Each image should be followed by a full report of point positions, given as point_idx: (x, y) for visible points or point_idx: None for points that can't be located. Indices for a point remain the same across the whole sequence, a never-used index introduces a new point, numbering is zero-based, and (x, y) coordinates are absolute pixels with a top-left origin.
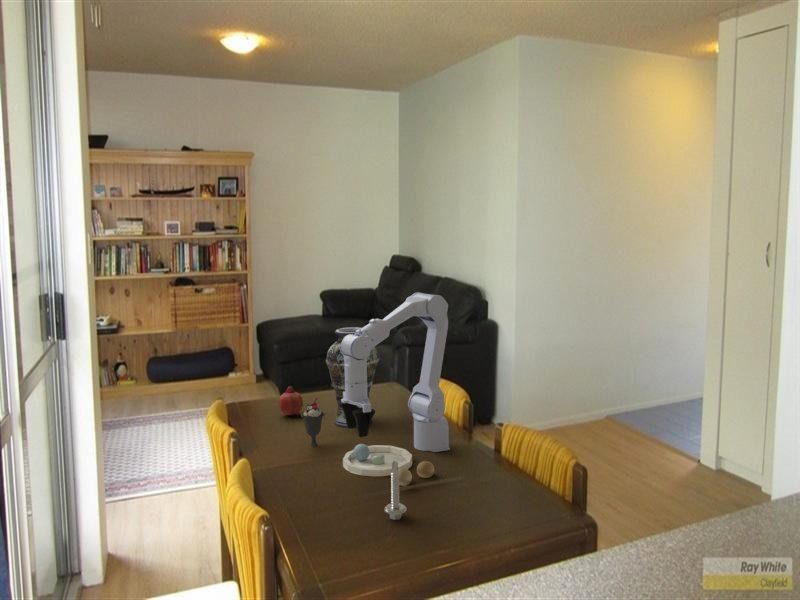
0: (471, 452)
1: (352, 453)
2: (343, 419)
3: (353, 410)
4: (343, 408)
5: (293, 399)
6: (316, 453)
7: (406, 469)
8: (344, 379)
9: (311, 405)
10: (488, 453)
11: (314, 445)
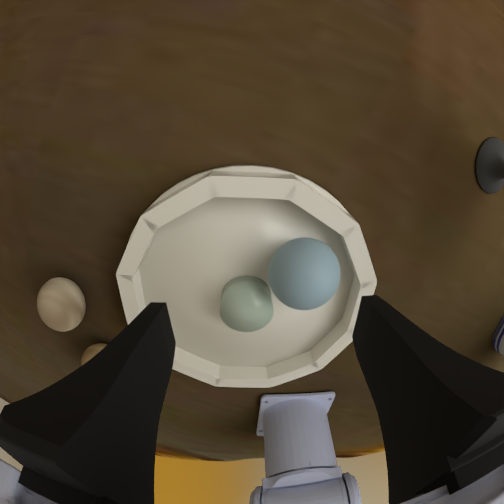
0: (227, 445)
1: (345, 243)
2: None
3: (399, 426)
4: (456, 395)
5: None
6: (459, 148)
7: (50, 327)
8: None
9: None
10: (210, 453)
11: (494, 165)
